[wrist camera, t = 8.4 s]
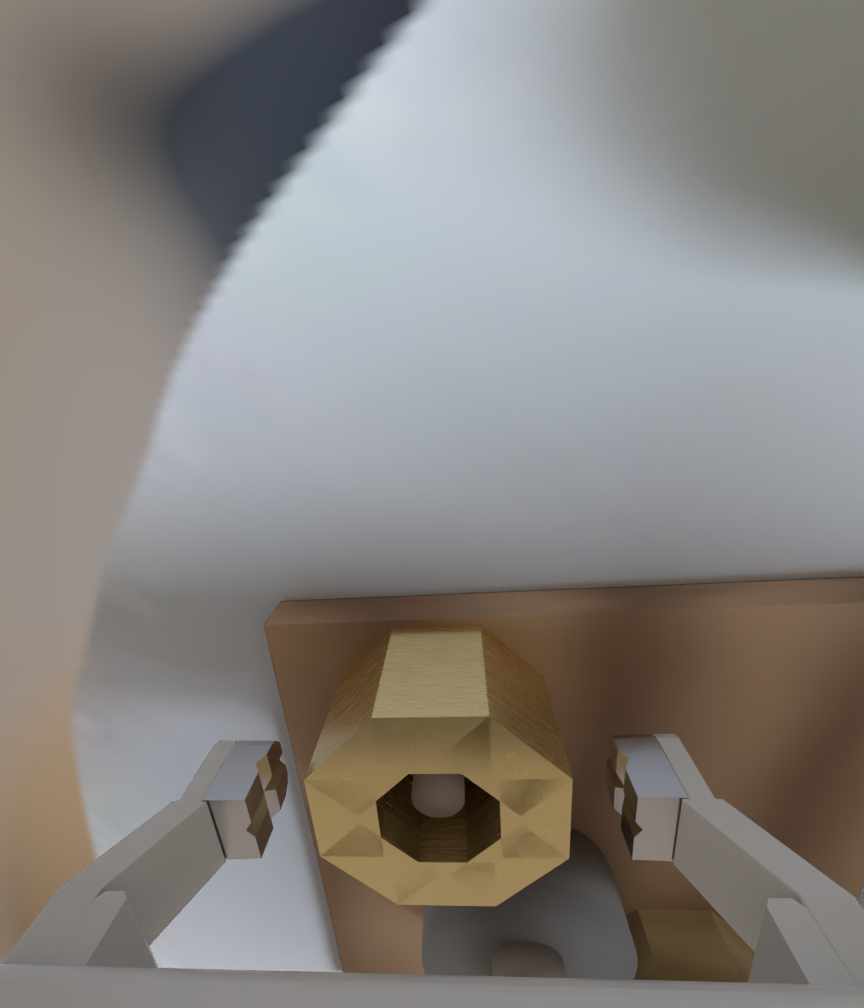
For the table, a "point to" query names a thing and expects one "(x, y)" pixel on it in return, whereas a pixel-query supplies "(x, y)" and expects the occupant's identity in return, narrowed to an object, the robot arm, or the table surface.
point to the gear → (442, 770)
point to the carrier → (584, 732)
